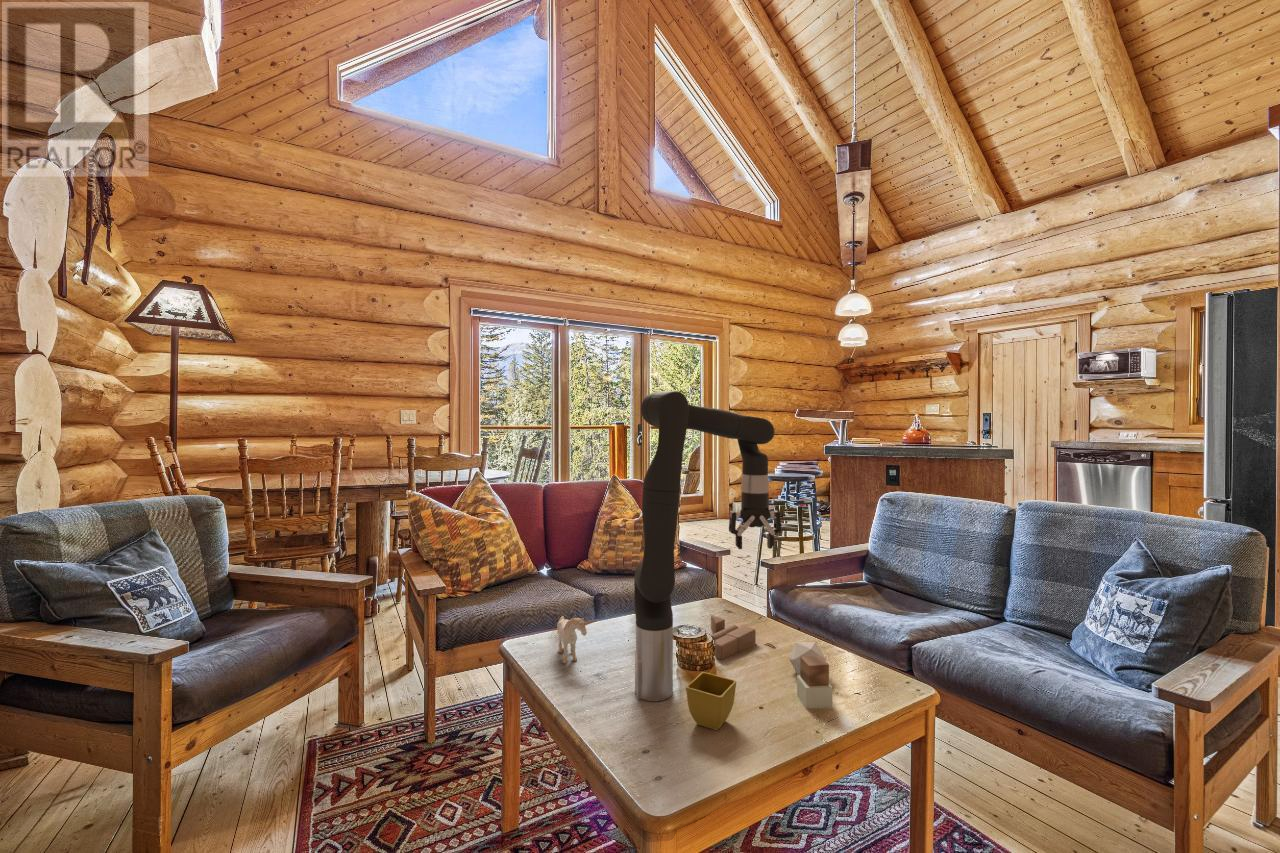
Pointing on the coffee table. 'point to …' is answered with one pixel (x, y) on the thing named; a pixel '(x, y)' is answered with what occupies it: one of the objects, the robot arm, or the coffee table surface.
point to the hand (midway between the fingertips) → (754, 548)
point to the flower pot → (710, 699)
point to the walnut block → (814, 671)
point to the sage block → (814, 695)
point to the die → (804, 653)
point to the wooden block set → (730, 637)
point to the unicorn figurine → (570, 634)
